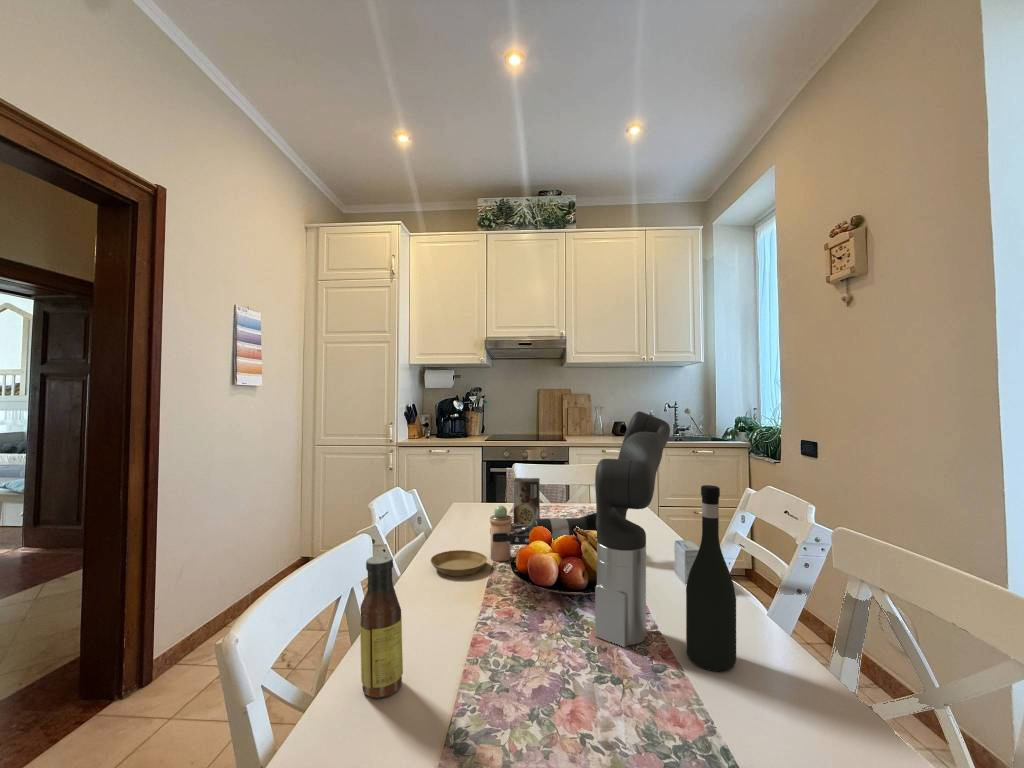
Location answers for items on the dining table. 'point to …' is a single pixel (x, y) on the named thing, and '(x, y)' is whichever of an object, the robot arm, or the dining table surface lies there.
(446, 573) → the plant saucer
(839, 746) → the dining table surface
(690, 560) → the medicine box
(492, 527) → the pepper mill
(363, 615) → the sauce bottle
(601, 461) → the robot arm
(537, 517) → the coffee box
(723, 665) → the wine bottle
